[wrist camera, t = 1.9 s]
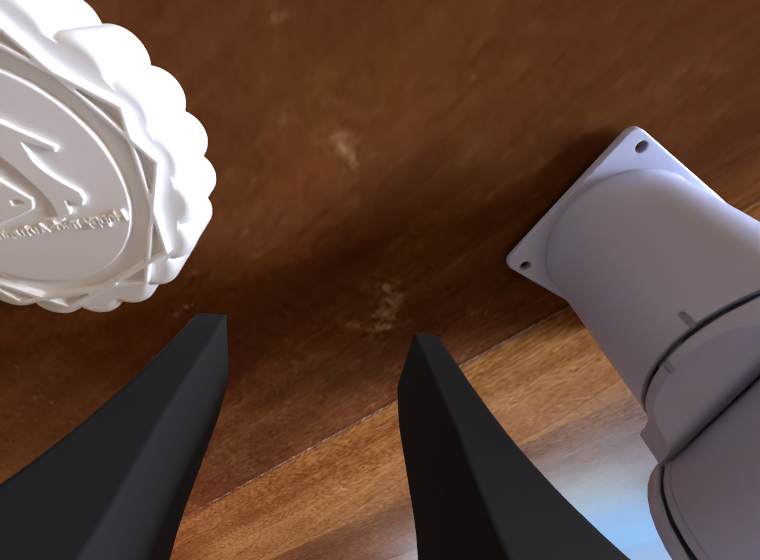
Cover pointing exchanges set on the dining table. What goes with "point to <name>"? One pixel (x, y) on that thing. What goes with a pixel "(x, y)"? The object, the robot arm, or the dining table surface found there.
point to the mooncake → (92, 162)
